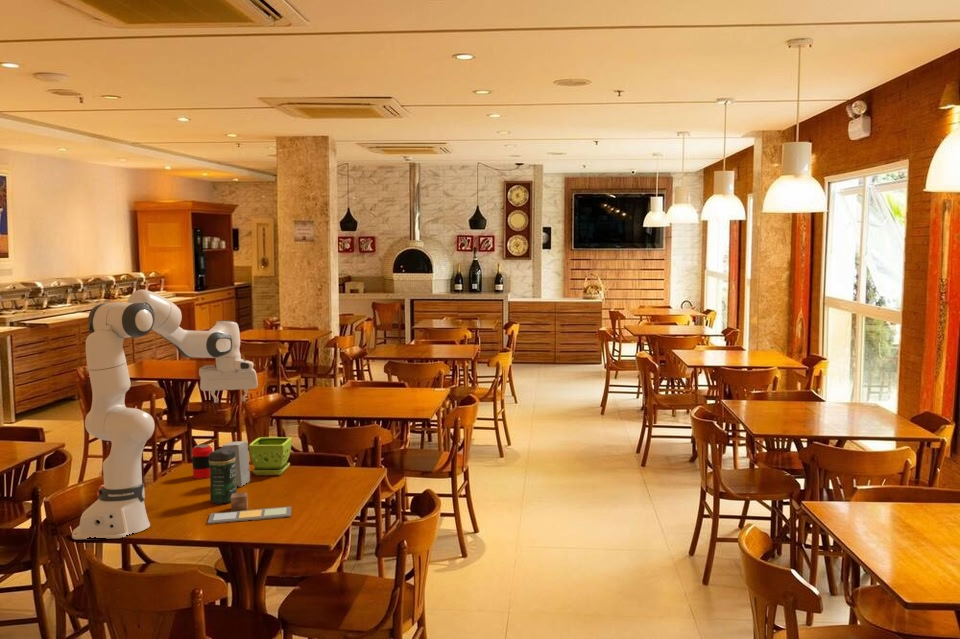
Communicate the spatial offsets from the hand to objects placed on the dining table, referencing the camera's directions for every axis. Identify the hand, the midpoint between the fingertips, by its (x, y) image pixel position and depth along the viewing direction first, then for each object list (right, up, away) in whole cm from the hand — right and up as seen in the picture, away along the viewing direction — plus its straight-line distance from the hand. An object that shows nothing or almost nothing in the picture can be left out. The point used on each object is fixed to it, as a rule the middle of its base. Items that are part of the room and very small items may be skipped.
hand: (229, 401), depth 308 cm
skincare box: (+1, -32, +8) cm, 33 cm away
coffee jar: (+2, -34, -13) cm, 36 cm away
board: (+16, -34, -32) cm, 50 cm away
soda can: (-16, -31, +21) cm, 41 cm away
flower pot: (+9, -30, +24) cm, 40 cm away
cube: (+10, -34, -24) cm, 43 cm away
